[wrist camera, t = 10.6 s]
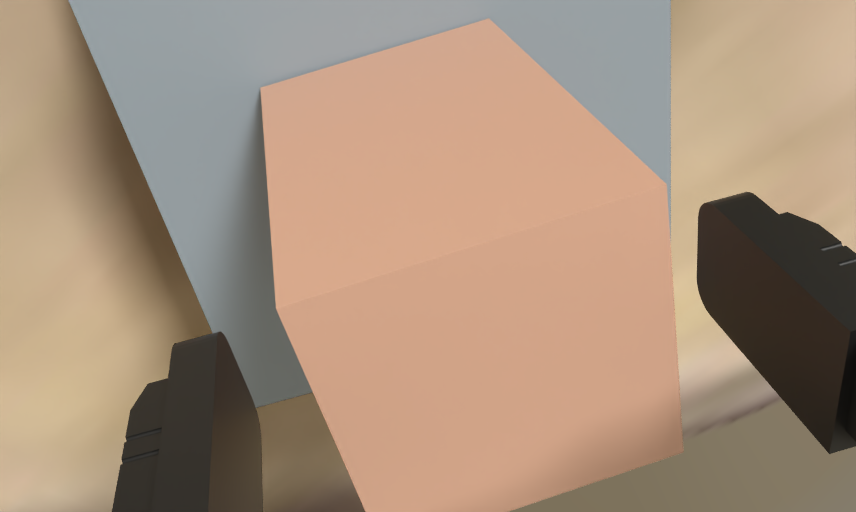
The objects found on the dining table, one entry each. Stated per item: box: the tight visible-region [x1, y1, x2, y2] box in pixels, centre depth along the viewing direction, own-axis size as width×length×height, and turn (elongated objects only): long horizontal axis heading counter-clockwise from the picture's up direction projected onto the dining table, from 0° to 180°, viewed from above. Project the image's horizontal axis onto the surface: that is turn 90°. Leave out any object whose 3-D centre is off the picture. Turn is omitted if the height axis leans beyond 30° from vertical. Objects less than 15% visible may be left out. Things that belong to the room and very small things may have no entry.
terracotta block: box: [260, 18, 683, 512], centre depth 14 cm, size 5×5×8 cm
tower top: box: [68, 0, 671, 408], centre depth 19 cm, size 12×12×4 cm
